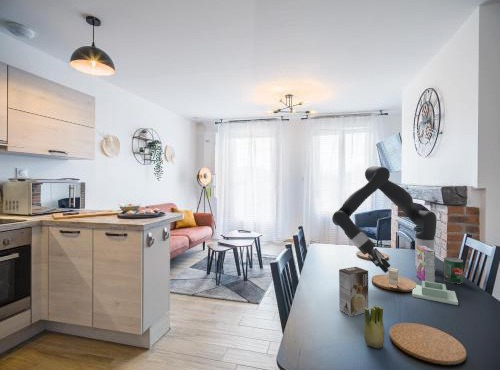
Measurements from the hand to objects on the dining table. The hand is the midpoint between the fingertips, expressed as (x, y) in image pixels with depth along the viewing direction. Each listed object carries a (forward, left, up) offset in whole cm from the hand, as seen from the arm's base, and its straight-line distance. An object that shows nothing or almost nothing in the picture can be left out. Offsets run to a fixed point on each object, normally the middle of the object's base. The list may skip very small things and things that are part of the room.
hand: (388, 269), depth 132 cm
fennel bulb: (+56, +1, -8) cm, 57 cm away
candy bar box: (-18, +15, -8) cm, 25 cm away
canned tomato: (-24, +27, -8) cm, 37 cm away
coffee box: (+36, -9, -8) cm, 38 cm away
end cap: (+2, +18, -8) cm, 20 cm away
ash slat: (0, +2, -8) cm, 8 cm away
